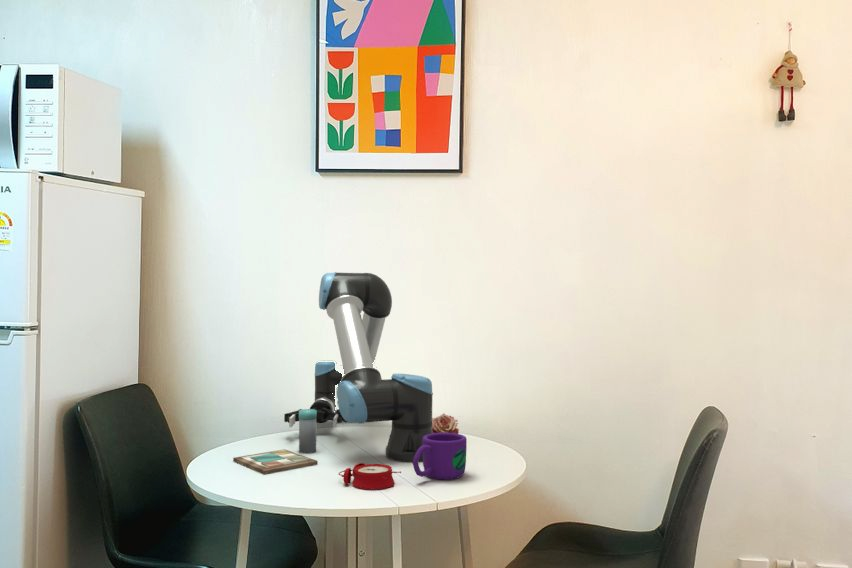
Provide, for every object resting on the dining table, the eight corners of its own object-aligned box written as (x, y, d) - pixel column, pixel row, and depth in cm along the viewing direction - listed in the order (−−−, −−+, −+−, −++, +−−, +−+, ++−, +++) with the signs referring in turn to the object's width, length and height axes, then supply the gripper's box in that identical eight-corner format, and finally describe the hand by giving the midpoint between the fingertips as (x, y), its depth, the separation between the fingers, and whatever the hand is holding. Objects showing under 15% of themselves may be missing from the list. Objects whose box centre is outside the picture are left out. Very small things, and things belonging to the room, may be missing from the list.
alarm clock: (386, 478, 166) (333, 457, 173) (380, 503, 167) (328, 481, 173) (405, 467, 176) (355, 448, 182) (400, 491, 176) (350, 471, 183)
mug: (442, 467, 190) (442, 430, 190) (475, 475, 182) (475, 436, 182) (397, 480, 177) (397, 440, 177) (431, 489, 169) (431, 447, 169)
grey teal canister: (319, 451, 208) (320, 410, 208) (304, 454, 204) (304, 412, 204) (310, 448, 212) (310, 408, 212) (295, 451, 208) (295, 410, 208)
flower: (423, 432, 226) (425, 415, 222) (448, 424, 230) (451, 407, 226) (437, 454, 220) (440, 437, 215) (463, 446, 224) (466, 428, 219)
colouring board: (317, 464, 193) (317, 459, 193) (264, 474, 182) (264, 469, 182) (284, 452, 206) (284, 447, 206) (233, 461, 196) (233, 456, 196)
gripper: (358, 421, 239) (353, 434, 218) (284, 421, 239) (271, 434, 218) (358, 399, 239) (353, 410, 218) (284, 399, 239) (272, 410, 218)
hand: (312, 422), depth 218 cm, fingers open, 13 cm apart
